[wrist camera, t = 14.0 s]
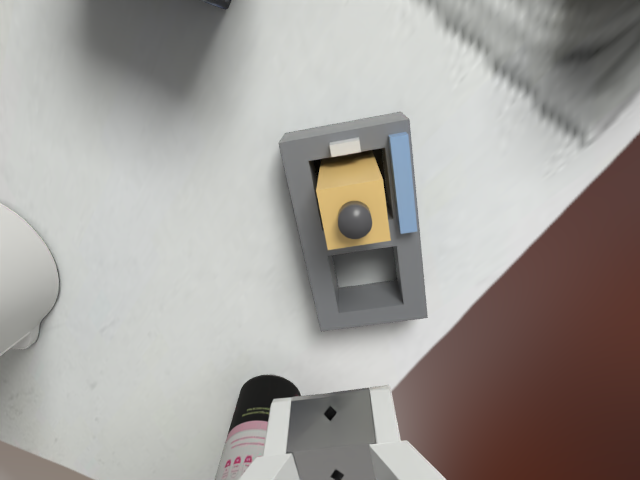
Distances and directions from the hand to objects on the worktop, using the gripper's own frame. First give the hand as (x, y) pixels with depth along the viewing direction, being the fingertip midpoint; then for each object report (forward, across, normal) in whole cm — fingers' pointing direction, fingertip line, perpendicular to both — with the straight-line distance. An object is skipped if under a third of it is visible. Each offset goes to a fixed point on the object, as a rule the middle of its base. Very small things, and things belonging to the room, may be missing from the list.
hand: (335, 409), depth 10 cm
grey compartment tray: (+24, -2, +5) cm, 25 cm away
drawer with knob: (+24, -2, +1) cm, 24 cm away
